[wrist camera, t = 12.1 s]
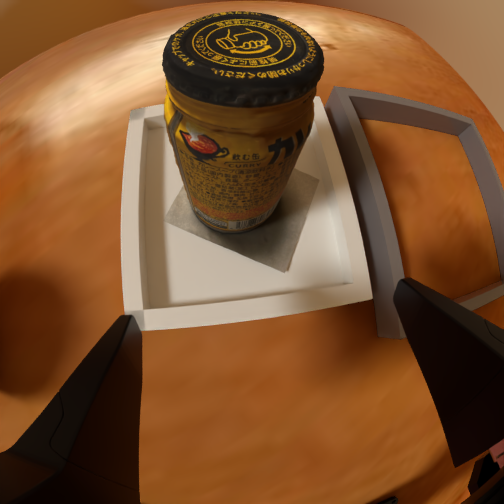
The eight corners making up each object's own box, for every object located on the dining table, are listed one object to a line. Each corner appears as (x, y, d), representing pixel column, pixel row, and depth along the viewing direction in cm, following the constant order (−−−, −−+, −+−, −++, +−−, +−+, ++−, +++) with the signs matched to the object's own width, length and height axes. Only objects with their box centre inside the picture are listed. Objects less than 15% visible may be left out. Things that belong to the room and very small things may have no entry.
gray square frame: (505, 287, 20) (524, 283, 17) (377, 336, 18) (400, 339, 15) (459, 130, 24) (472, 119, 21) (324, 107, 22) (334, 86, 19)
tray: (355, 300, 18) (372, 298, 16) (140, 329, 16) (126, 331, 14) (311, 114, 21) (319, 96, 19) (138, 128, 20) (130, 110, 17)
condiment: (212, 137, 19) (205, -7, 7) (319, 180, 19) (401, 55, 7) (163, 222, 17) (82, 93, 5) (283, 274, 17) (387, 201, 5)
